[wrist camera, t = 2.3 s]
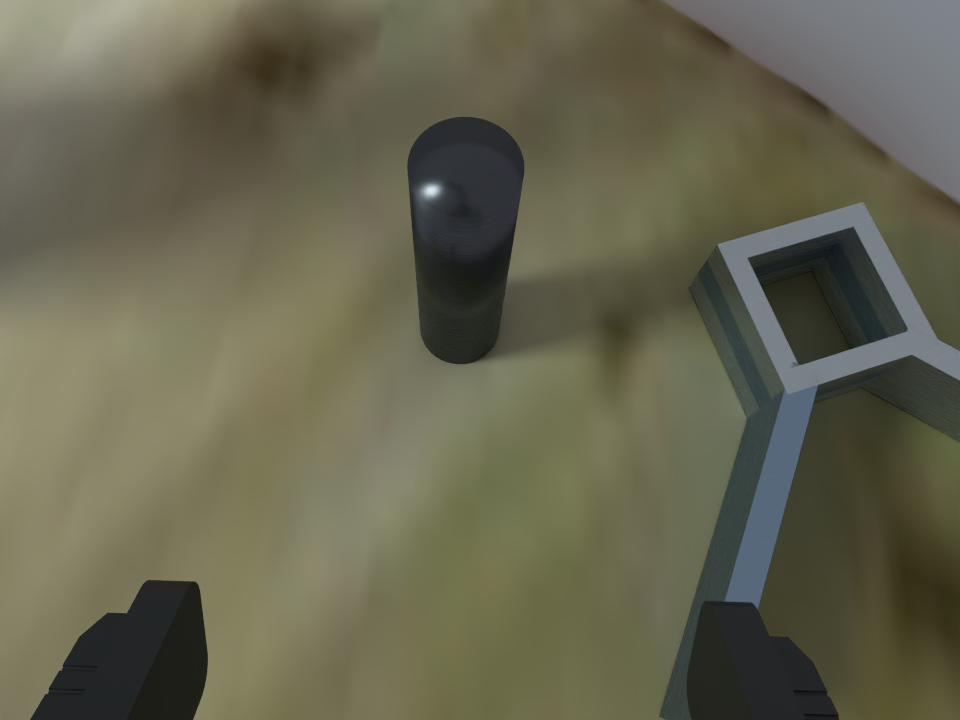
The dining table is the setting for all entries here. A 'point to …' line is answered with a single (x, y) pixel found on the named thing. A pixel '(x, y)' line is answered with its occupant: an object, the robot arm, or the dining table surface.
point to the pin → (463, 232)
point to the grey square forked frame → (803, 381)
